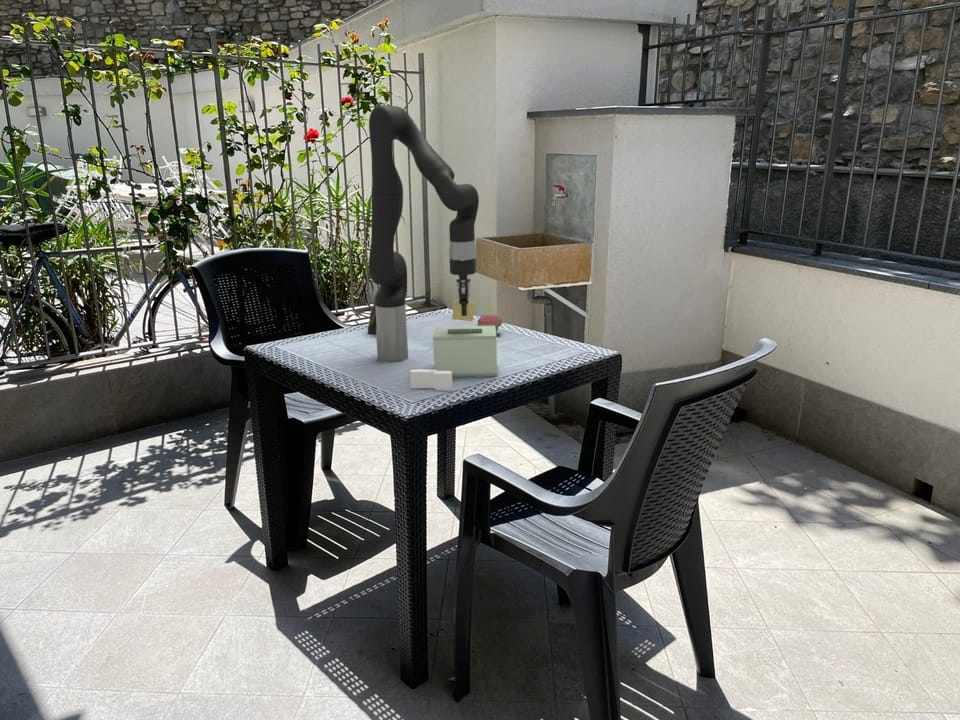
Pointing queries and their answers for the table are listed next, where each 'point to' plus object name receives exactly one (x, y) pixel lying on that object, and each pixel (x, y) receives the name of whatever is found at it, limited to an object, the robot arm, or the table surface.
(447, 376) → the napkin holder
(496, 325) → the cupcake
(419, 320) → the table surface
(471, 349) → the box
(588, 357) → the table surface
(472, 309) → the tan brushed block
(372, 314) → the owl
